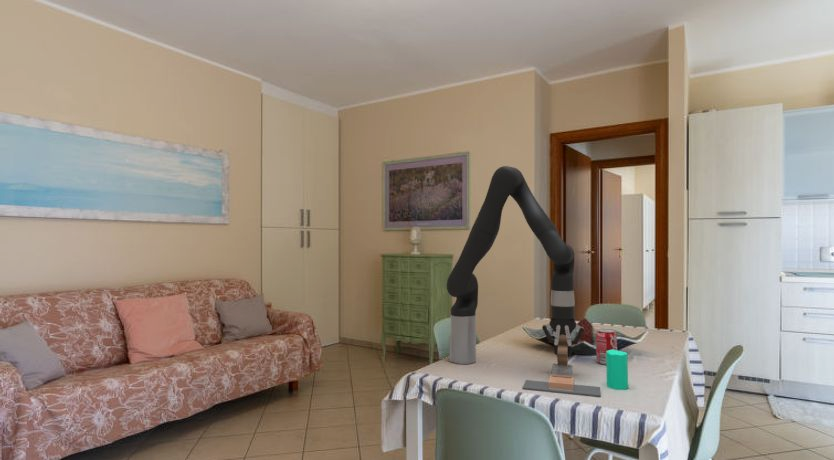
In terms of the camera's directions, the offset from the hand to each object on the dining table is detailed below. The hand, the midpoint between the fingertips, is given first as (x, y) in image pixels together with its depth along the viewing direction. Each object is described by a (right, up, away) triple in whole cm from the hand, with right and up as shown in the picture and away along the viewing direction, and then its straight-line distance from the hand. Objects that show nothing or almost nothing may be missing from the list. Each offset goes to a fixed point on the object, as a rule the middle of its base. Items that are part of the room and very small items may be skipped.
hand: (563, 356), depth 155 cm
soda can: (+21, -7, +16) cm, 27 cm away
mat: (-5, -6, -13) cm, 15 cm away
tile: (-3, -5, -8) cm, 10 cm away
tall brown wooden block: (-1, -1, -2) cm, 2 cm away
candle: (+13, -7, -11) cm, 18 cm away
